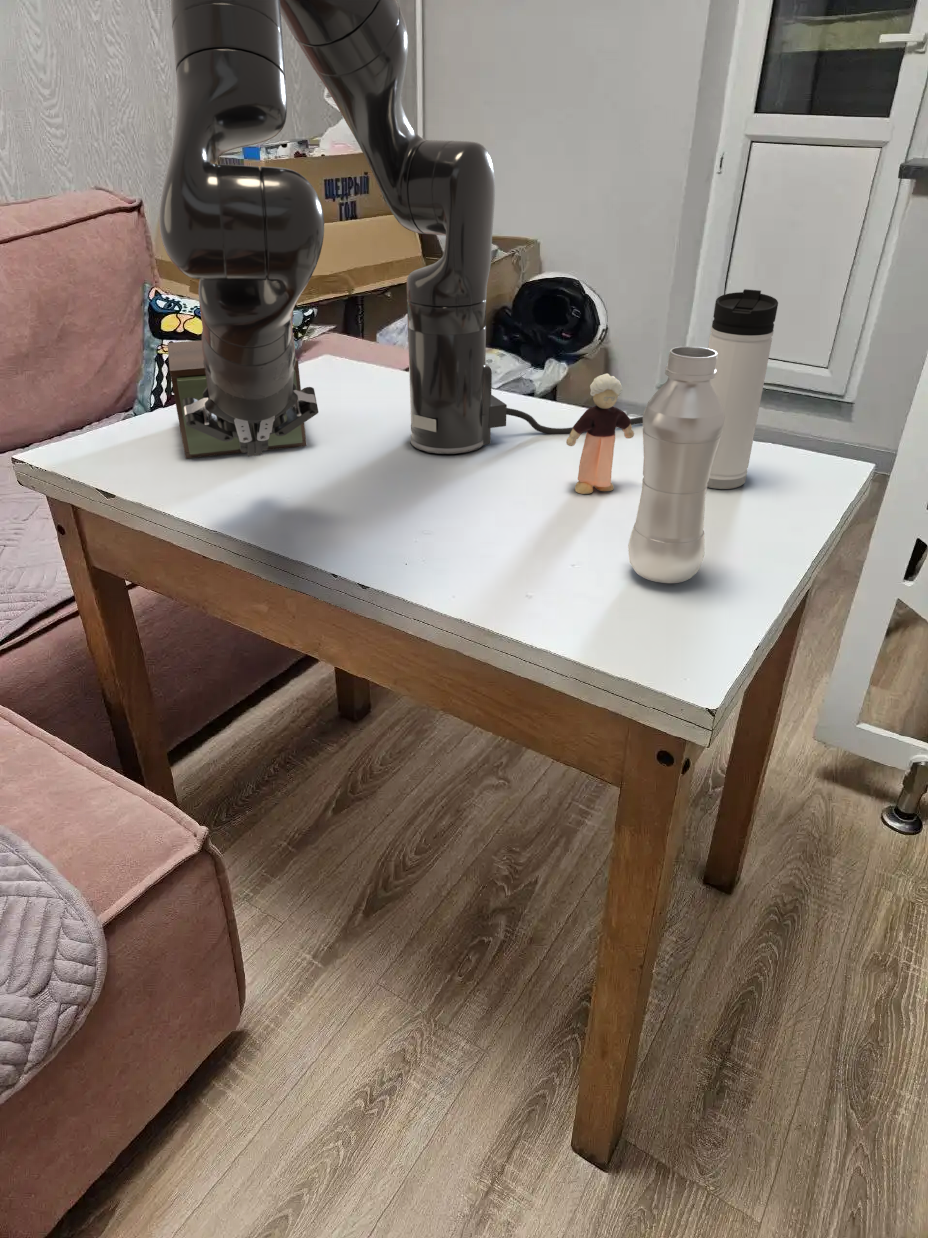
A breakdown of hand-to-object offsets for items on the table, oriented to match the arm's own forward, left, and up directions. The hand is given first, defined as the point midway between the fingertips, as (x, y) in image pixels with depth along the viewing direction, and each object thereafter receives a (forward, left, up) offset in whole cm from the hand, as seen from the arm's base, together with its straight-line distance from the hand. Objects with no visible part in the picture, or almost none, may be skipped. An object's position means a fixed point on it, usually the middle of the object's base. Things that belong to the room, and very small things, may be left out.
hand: (253, 447), depth 88 cm
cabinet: (-2, -22, -6) cm, 23 cm away
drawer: (-2, -19, -5) cm, 20 cm away
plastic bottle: (-30, +31, -6) cm, 44 cm away
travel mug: (-50, +14, -6) cm, 52 cm away
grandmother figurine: (-35, +11, -6) cm, 38 cm away
